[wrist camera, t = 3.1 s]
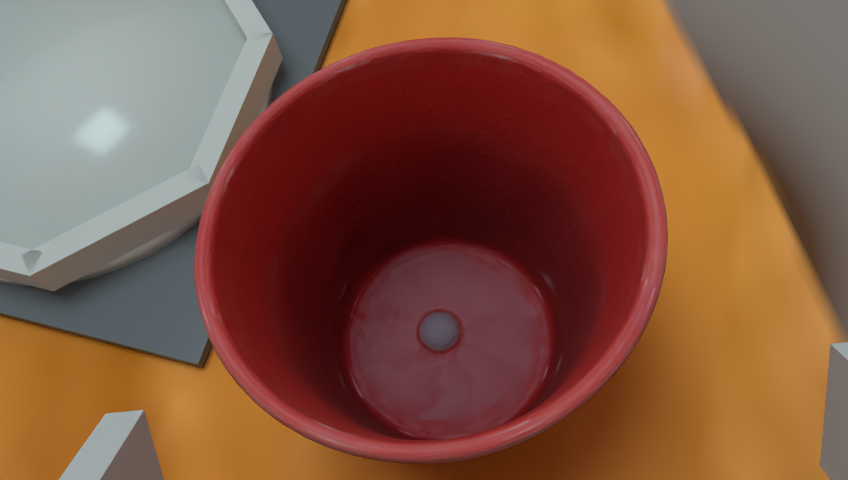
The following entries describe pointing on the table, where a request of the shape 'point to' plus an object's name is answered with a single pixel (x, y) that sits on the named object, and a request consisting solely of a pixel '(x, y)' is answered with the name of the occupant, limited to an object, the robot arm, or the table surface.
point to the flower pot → (431, 250)
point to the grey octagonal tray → (130, 151)
